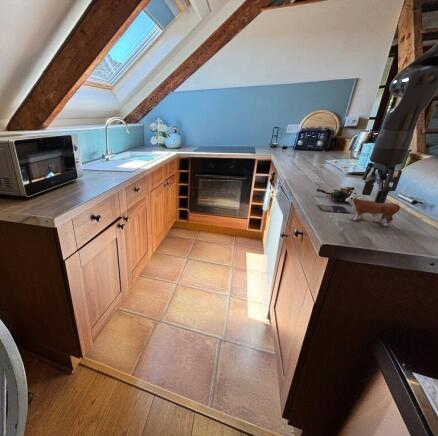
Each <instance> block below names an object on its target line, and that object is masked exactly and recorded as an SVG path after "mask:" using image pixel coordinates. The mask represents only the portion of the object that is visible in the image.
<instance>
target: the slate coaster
mask: <svg viewBox="0 0 438 436" xmlns="http://www.w3.org/2000/svg"><path fill="white" fill-rule="evenodd" d="M318 207H319V208H320V209H321V210H322V211H323V212H330V213H331V212H333V213H345V214H350V211H349V210H348V209H347V208H345V207H344V206H340V205H329V204H328V205H327V204H318Z"/></svg>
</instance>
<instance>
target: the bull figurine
mask: <svg viewBox="0 0 438 436" xmlns="http://www.w3.org/2000/svg"><path fill="white" fill-rule="evenodd" d="M344 202H346V203H349V204H350V205H351V207H352V209H353V211H354V212H355V213H356V214H355V217H353V218H352V219H351V220H352V221H354V222H355V221H358V220H361V219H363V218H364V217H363V215H364V214H369V215H372V217H373V218H374V217H376V216H378V215H379V216H380V215H381V216H380V217H379V218H378V219H375V220H374V222H375V223H382V221H383V220H385V221H386V222H384V224H382V226H383V227H387V226H390V224H391V223H392V221H394V218H393V216H394V215H395V214H397V213H398V212H399V211H400V210H401V207H400V205H399V204H397V203H393V202H392V203H391V202H386V201H385V202H384V203H376V202H375V200H372V199H368V198H366V197H363V196H360V195H357V194H356V195H355V194H354V193H353V194H351V195H350V196H349V197H348V198H347V199H345V201H344Z"/></svg>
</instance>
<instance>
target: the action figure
mask: <svg viewBox="0 0 438 436" xmlns="http://www.w3.org/2000/svg"><path fill="white" fill-rule="evenodd" d="M354 191H355V187H354V186H346V187H340V189H332V191H326V190H324V189H321V188H316V192H318V193H322V194H325V195H329V196H330V197H332V201H333V202H335V203H336V204H338V203H339V201H340V202H346V201H345V199H347V198H348V197H349V196H352V194H353V195H354V194H355V195H357V192H354Z"/></svg>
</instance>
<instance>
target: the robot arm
mask: <svg viewBox="0 0 438 436" xmlns="http://www.w3.org/2000/svg"><path fill="white" fill-rule="evenodd" d="M388 90H389V94H390V95H391V96H392V97H394V98H398V99H400V101H399V102H398V104H397V105H396V106H395V107H392V108H390V109H389V110H387V112H386V114H385V117H384V119H383V122H382V124H381V128H380V131H379V132H378V135H377V137H376V139H375V142H374V145H373V148H372V151H371V154H370V157H369V162H368V163H367V165H366V168H365V171H364V172H363V175H362V179H361V180H362V181H363V183H364V186H363V189H362V191H361V195H363V196H371V195H372V192H373V189H374V186H375V184H377V185H378V191H377V193H376V196H375V199H374V201H375V202H376V203H384V202H385V203H386V201H387V197H388V195H389V193H391V192H395V191H396V190H397V188H398V184H399V182H400V179H401V176H402V173H403V170H401V169H396V166H397V165H402V164H403V163H404V162H405V160H406V156H407V154H408V152H409V149H410V146H411V144H412V142H413V138H414V134H415V130H416V129H417V125H418V123H419V120H420V118H421V114H422V113H423V112H424V110H426V108H427V107H428V105H429V104H430V102H431V101H432V100H433V98H434V96H435V95H436V93H437V92H438V41H437V42H436V43H435V44H434V45H433V46H432V47H431V48H430V49H428V50H427V51H425V52H424V53H423V54H421V55H420V56H418V57H417V58H416V59H414V60H413V61H412V62H410V64H408V65H406V67H404V68H403V69H402V70H400V71H399V72H398V73H397V74H396V75H395V77H394V78H393V79H392V80H391V82H390V85H389V89H388Z"/></svg>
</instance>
